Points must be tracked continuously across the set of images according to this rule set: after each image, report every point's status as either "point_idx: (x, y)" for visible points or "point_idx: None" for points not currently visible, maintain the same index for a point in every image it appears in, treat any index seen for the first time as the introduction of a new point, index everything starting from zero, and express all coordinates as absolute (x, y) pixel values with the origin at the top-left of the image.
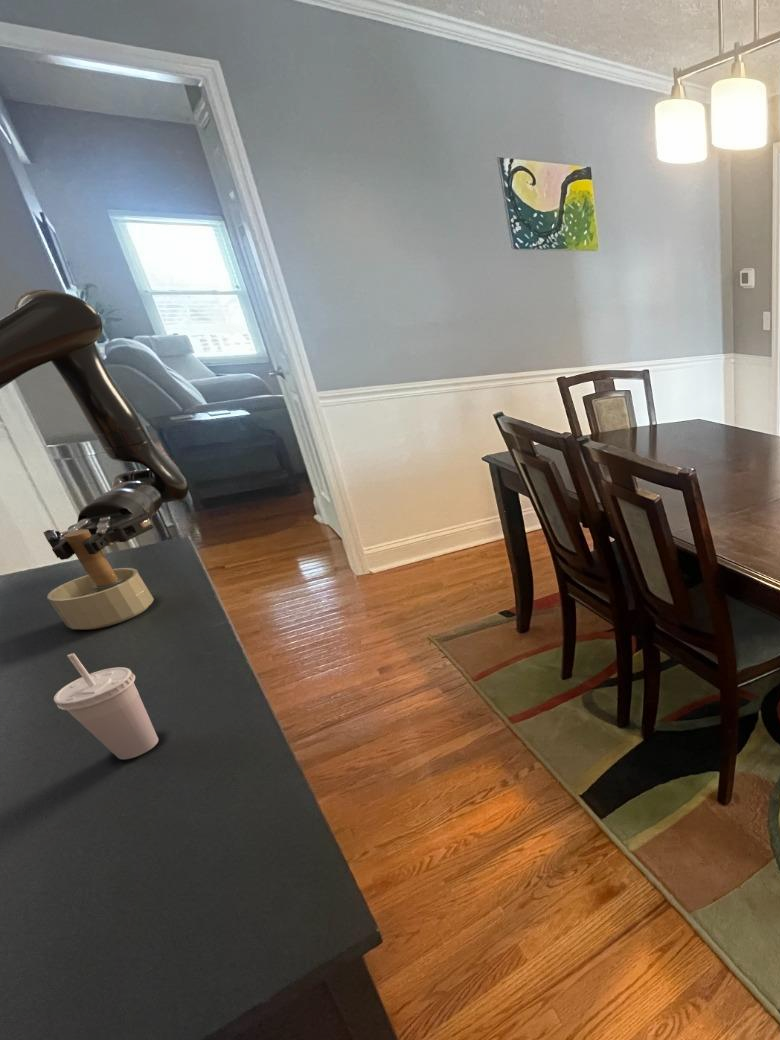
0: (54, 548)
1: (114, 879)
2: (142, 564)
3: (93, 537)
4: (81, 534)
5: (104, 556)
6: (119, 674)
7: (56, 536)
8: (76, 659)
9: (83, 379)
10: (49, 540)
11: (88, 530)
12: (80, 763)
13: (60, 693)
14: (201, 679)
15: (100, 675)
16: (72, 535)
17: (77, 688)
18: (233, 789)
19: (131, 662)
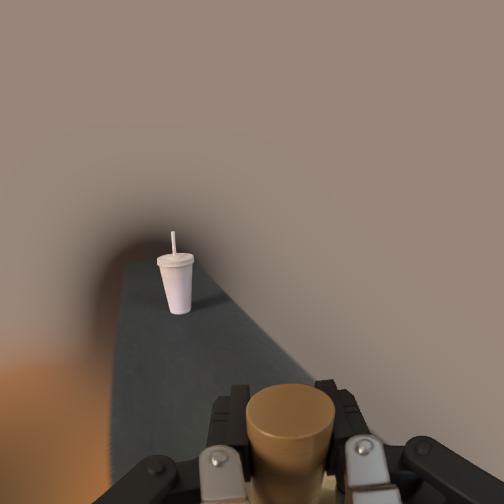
0: (331, 379)
1: None
2: None
3: (229, 410)
4: (259, 393)
5: (252, 496)
6: (162, 259)
7: (420, 462)
8: (172, 235)
9: None
10: (420, 439)
11: (246, 417)
12: (209, 310)
13: (190, 256)
14: (142, 344)
15: (172, 260)
16: (288, 387)
17: (181, 255)
18: (142, 286)
19: (205, 391)
